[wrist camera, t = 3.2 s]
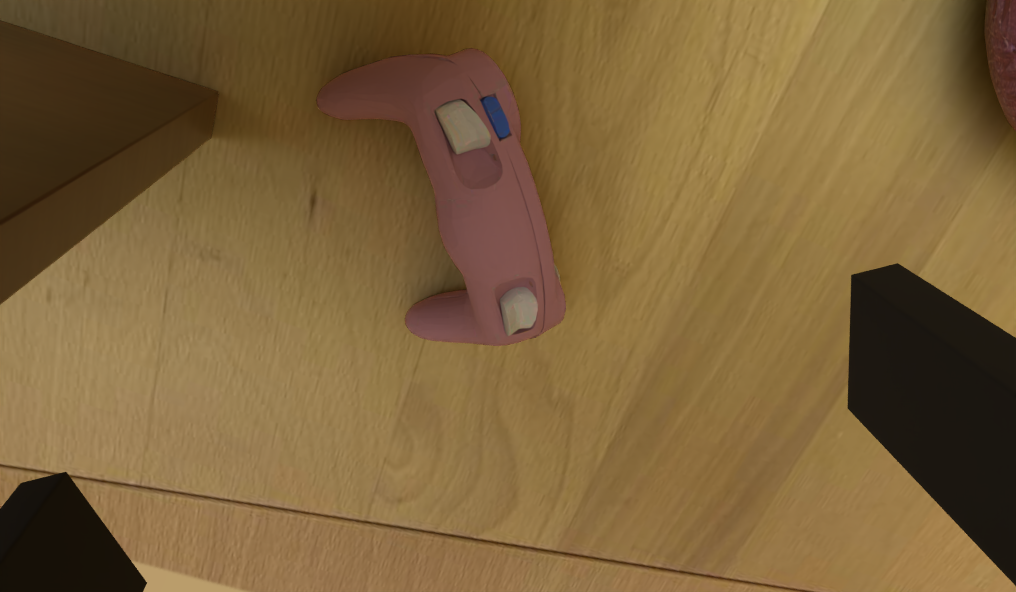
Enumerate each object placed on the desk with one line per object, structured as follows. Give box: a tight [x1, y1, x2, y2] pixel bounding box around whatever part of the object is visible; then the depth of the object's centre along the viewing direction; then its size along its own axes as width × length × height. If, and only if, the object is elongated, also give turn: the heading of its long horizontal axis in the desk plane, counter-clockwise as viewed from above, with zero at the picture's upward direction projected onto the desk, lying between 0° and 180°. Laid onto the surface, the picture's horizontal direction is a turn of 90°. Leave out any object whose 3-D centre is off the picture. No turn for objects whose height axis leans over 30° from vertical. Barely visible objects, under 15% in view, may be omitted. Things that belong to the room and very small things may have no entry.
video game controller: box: [316, 48, 566, 346], centre depth 21 cm, size 10×5×7 cm, turn 15°
